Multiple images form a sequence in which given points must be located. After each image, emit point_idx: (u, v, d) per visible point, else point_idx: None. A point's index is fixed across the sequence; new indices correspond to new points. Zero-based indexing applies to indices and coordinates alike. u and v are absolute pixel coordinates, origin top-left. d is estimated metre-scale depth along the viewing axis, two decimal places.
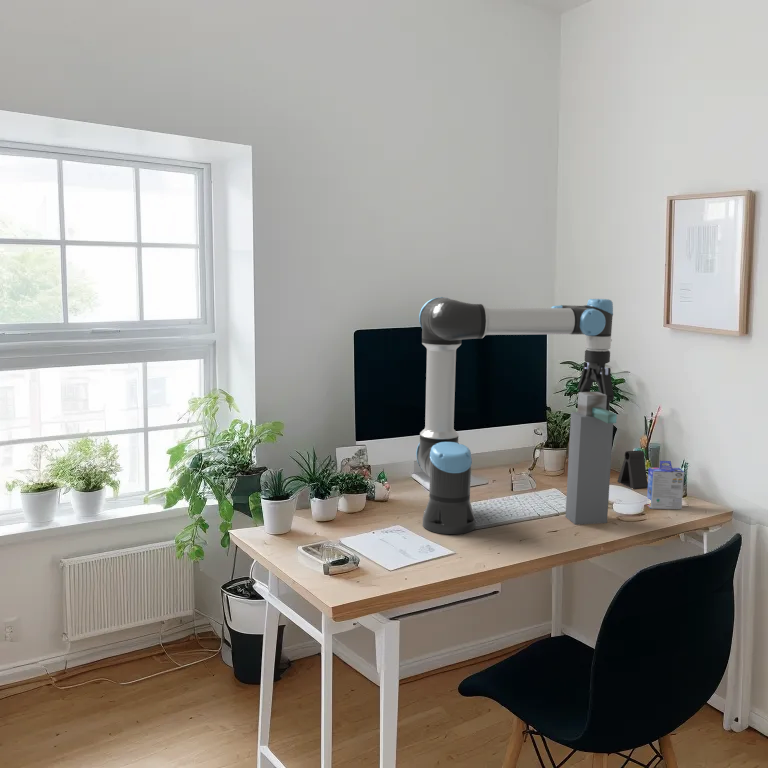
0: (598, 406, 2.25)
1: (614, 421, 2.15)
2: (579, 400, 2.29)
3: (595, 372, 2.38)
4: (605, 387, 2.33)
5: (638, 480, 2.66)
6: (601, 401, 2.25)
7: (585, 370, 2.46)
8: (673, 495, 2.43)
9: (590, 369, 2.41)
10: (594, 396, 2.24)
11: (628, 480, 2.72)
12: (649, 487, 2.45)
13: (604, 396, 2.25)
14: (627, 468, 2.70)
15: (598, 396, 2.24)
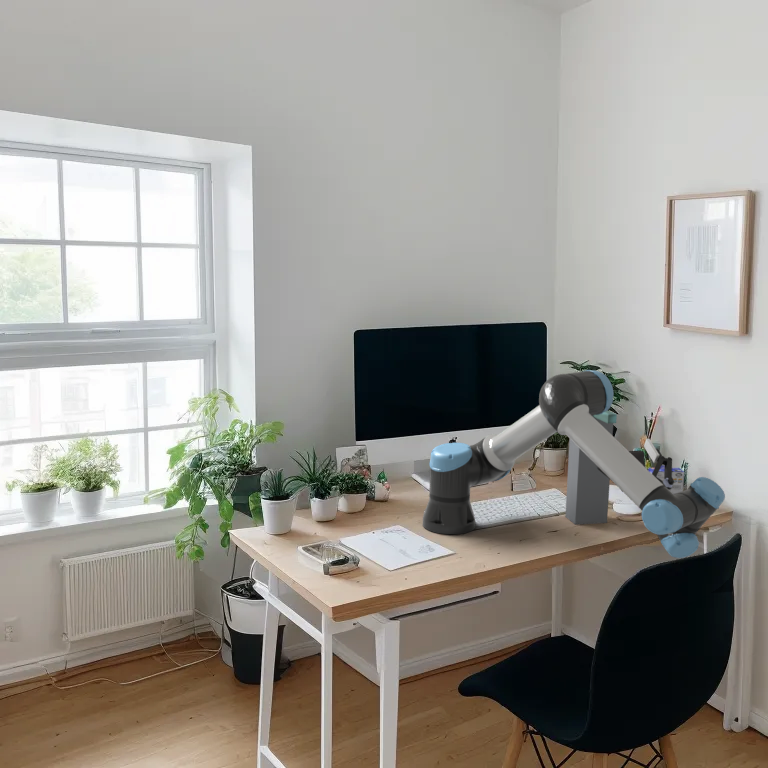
0: None
1: (614, 421, 2.15)
2: None
3: None
4: None
5: None
6: None
7: (666, 477, 1.99)
8: None
9: None
10: None
11: None
12: None
13: None
14: None
15: None
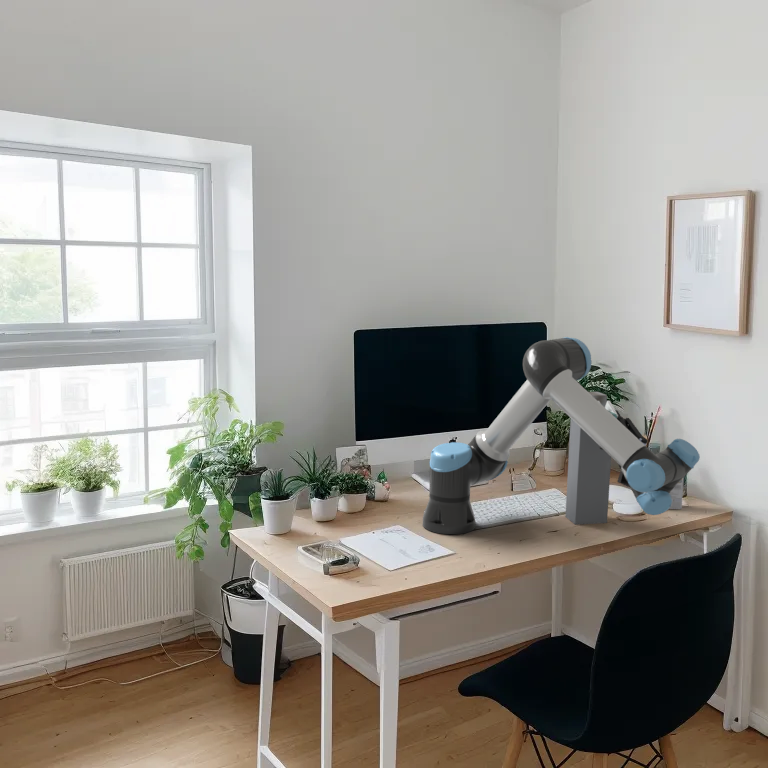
0: None
1: None
2: None
3: None
4: None
5: None
6: (601, 401, 2.25)
7: (638, 437, 2.10)
8: (673, 495, 2.43)
9: None
10: (594, 396, 2.24)
11: None
12: None
13: (604, 396, 2.25)
14: None
15: (598, 396, 2.24)
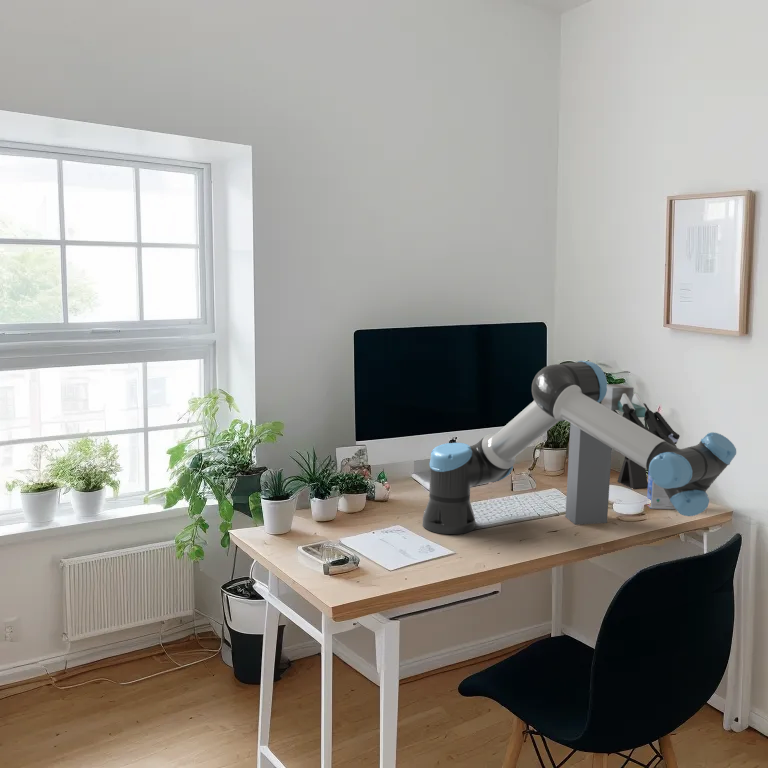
0: None
1: (642, 415, 2.00)
2: None
3: None
4: None
5: (638, 480, 2.66)
6: (628, 394, 2.09)
7: (669, 432, 1.95)
8: None
9: (661, 438, 1.92)
10: (620, 388, 2.09)
11: (628, 480, 2.72)
12: (649, 487, 2.45)
13: (630, 389, 2.09)
14: (627, 468, 2.70)
15: (624, 388, 2.09)
